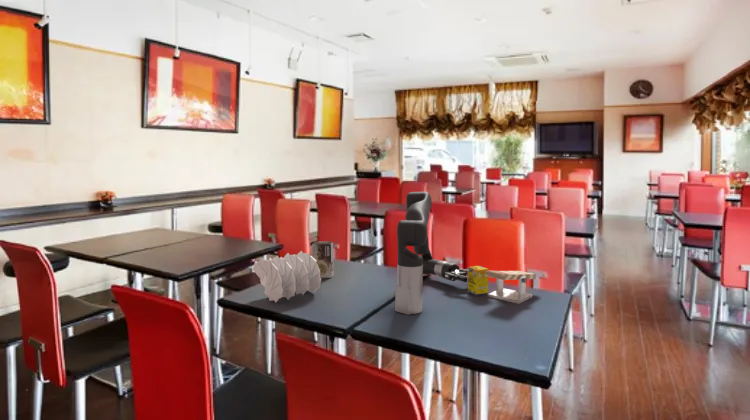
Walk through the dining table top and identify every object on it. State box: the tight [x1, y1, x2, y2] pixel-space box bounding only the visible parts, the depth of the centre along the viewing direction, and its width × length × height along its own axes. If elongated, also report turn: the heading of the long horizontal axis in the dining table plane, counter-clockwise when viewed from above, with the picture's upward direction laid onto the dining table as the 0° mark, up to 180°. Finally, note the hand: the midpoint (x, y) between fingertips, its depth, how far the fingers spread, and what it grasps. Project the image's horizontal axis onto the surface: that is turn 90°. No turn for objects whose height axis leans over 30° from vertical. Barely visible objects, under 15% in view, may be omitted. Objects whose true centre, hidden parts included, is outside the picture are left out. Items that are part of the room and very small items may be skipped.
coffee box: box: [311, 240, 335, 279], centre depth 218 cm, size 9×6×16 cm
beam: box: [485, 270, 537, 281], centre depth 187 cm, size 28×8×2 cm, turn 137°
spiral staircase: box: [252, 250, 322, 303], centre depth 186 cm, size 18×18×25 cm
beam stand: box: [487, 276, 533, 305], centre depth 187 cm, size 12×13×9 cm
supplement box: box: [467, 265, 490, 297], centre depth 192 cm, size 6×6×11 cm
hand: (474, 278), depth 193 cm, fingers open, 8 cm apart
